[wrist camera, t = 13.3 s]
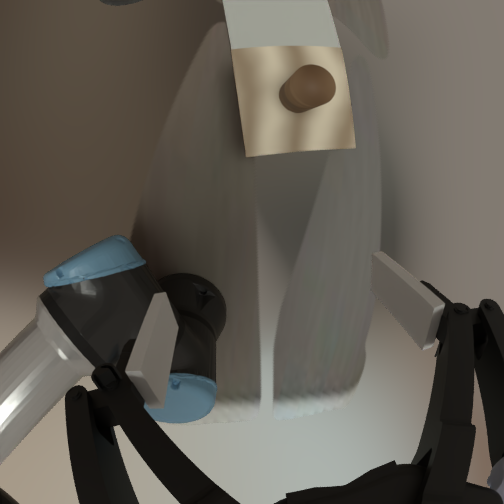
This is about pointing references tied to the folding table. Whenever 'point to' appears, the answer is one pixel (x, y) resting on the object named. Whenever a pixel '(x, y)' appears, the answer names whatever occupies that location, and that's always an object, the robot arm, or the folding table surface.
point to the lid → (293, 99)
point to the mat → (279, 23)
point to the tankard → (119, 2)
